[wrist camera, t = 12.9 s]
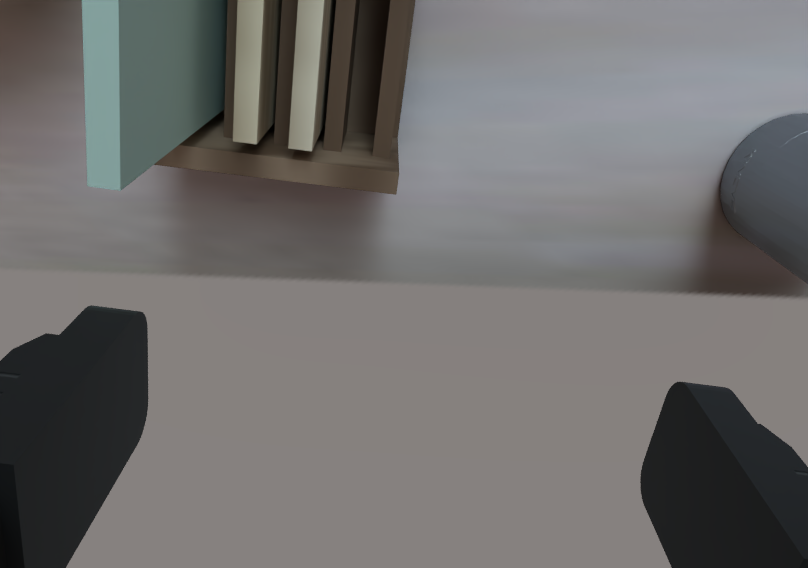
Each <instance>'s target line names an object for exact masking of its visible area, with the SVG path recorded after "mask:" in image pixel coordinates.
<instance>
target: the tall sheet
mask: <svg viewBox="0 0 808 568" xmlns="http://www.w3.org/2000/svg"><path fill="white" fill-rule="evenodd" d="M227 9H228V0H82V22H83V55H84V89H85V122H86V156H87V186H90V187H97V188H104V189H112V190H119V191H121V190H122V189H123V188H125V187H126V186H127V185H128V184H130V183H131V182H132V181H133V180H135V179H136V178H137V177H139V176H140V175H141V174H142V173H144V172H145V171H146V170H147V169H149V168H150V167H151V166H153V165H154V164H155V163H156V162H158V161H159V160H160V159H161V158H163V157H164V156H165V155H167V154H168V153H169V152H170V151H172V150H173V149H174V148H175V147H177V146H178V145H179V144H181V143H182V142H183V141H184V140H186V139H187V138H188V137H189V136H191V135H192V134H193V133H195V132H196V131H197V130H198V129H200V128H201V127H202V126H203V125H205V124H206V123H207V122H208V121H210V120H211V119H212V118H214V117H215V116H216V115H217V114H219V113H220V112H221V111H222V110H224V109H225V76H226V43H227Z"/></svg>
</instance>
